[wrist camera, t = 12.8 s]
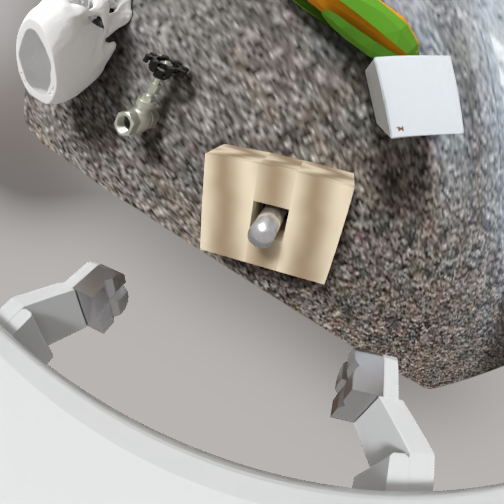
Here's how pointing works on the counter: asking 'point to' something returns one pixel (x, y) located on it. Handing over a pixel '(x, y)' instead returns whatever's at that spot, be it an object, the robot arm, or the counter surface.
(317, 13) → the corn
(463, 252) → the counter surface
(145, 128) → the valve
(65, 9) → the skull planter
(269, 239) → the steel peg
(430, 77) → the supplement box
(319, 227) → the hole block
